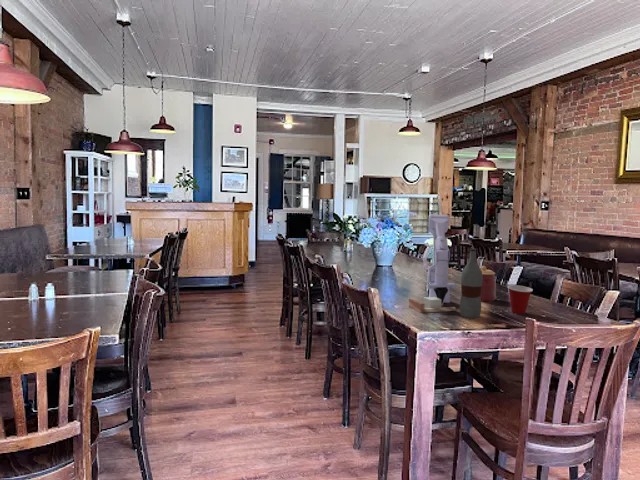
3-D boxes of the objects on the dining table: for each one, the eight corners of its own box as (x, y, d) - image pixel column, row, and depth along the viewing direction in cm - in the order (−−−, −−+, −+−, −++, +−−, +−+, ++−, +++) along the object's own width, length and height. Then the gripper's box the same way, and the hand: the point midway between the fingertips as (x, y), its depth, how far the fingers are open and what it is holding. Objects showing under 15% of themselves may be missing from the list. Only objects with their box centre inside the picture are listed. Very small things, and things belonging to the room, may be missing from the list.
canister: (479, 302, 238) (481, 267, 236) (464, 297, 250) (465, 264, 249) (500, 301, 242) (502, 267, 241) (484, 296, 254) (486, 263, 253)
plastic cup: (520, 316, 210) (521, 290, 209) (500, 311, 219) (502, 286, 218) (536, 314, 215) (538, 288, 214) (517, 309, 224) (518, 284, 223)
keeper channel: (441, 305, 230) (442, 297, 229) (454, 310, 219) (455, 302, 219) (408, 307, 225) (408, 298, 224) (420, 312, 214) (420, 303, 213)
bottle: (485, 316, 209) (488, 249, 206) (474, 319, 203) (477, 250, 200) (466, 312, 216) (469, 247, 213) (455, 315, 210) (458, 248, 207)
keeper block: (434, 307, 225) (434, 296, 225) (440, 309, 220) (441, 299, 219) (423, 307, 224) (423, 297, 223) (429, 310, 218) (430, 300, 218)
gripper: (432, 276, 216) (431, 305, 217) (459, 275, 220) (458, 304, 221) (424, 274, 222) (423, 302, 224) (451, 273, 227) (450, 301, 228)
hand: (440, 303), depth 223 cm, fingers closed
